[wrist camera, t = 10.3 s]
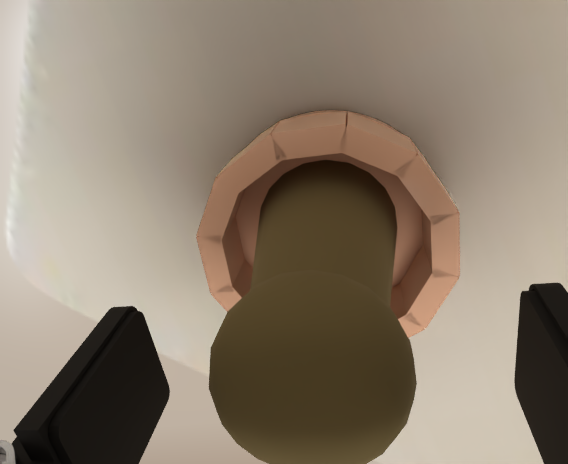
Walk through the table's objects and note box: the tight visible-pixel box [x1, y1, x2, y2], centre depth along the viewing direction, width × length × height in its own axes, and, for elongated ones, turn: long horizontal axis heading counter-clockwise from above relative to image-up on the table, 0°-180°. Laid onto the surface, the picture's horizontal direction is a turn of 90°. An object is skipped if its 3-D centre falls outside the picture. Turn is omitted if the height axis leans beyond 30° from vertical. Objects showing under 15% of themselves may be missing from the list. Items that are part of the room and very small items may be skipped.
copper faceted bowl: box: [196, 110, 460, 338], centre depth 20 cm, size 10×10×4 cm
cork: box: [209, 160, 416, 464], centre depth 15 cm, size 6×6×11 cm
